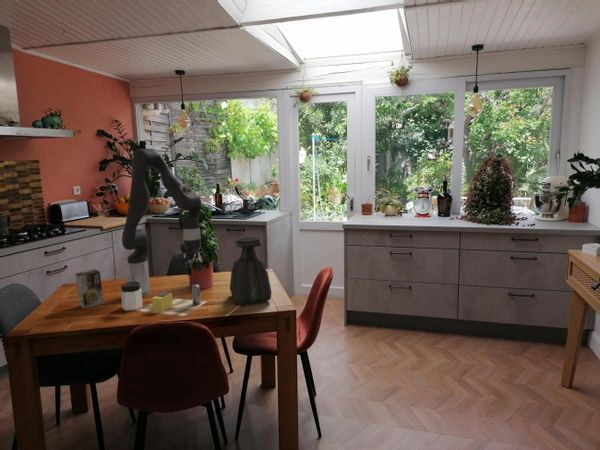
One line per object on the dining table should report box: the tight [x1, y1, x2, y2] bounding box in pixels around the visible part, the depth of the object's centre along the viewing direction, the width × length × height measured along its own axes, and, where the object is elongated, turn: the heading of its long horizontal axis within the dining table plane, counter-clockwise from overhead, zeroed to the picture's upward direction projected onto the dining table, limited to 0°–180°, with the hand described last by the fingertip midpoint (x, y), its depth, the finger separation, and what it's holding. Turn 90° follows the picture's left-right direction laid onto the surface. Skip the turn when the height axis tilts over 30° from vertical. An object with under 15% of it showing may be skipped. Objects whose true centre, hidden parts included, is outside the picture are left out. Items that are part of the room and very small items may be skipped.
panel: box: [136, 297, 207, 317], centre depth 197 cm, size 25×19×1 cm
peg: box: [191, 284, 201, 306], centre depth 198 cm, size 4×4×9 cm
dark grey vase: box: [229, 236, 272, 307], centre depth 203 cm, size 18×16×30 cm
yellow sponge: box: [151, 291, 173, 312], centre depth 194 cm, size 5×8×6 cm, turn 162°
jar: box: [120, 281, 144, 311], centre depth 196 cm, size 9×8×12 cm
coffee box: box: [75, 268, 104, 309], centre depth 204 cm, size 9×6×16 cm
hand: (194, 272), depth 197 cm, fingers open, 8 cm apart
